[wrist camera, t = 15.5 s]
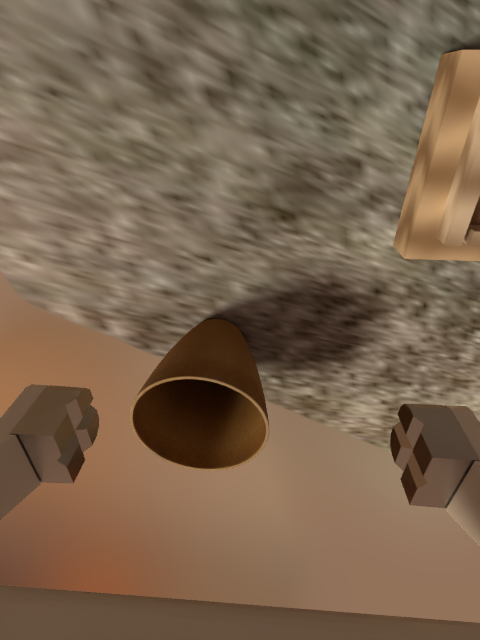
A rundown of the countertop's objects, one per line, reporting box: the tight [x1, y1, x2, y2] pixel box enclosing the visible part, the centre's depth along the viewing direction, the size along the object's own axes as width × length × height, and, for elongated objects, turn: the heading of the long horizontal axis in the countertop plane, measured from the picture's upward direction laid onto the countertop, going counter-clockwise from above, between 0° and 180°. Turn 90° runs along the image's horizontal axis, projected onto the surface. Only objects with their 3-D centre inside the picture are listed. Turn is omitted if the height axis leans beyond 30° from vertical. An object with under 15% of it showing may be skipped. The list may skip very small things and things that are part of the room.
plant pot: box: [130, 319, 269, 471], centre depth 44 cm, size 15×15×16 cm
